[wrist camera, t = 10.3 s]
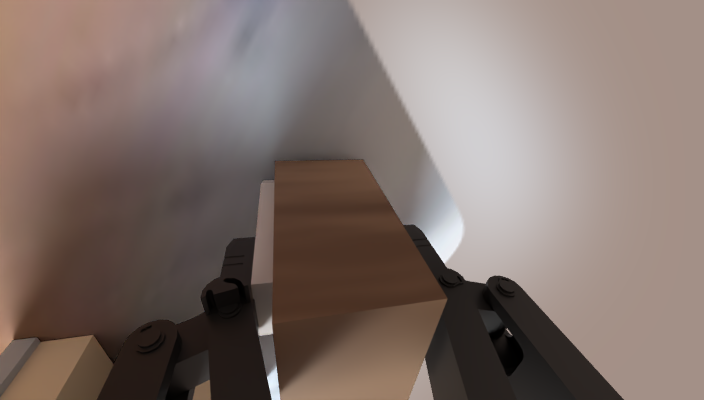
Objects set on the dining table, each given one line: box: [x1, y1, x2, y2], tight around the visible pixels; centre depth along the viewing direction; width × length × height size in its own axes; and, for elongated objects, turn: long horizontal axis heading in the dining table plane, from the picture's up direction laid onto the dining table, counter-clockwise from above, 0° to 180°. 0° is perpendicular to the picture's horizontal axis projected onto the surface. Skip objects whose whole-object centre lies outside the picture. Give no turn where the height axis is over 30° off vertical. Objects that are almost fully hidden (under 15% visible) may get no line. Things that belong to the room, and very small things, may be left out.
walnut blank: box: [272, 160, 448, 400], centre depth 14 cm, size 14×4×9 cm, turn 175°
